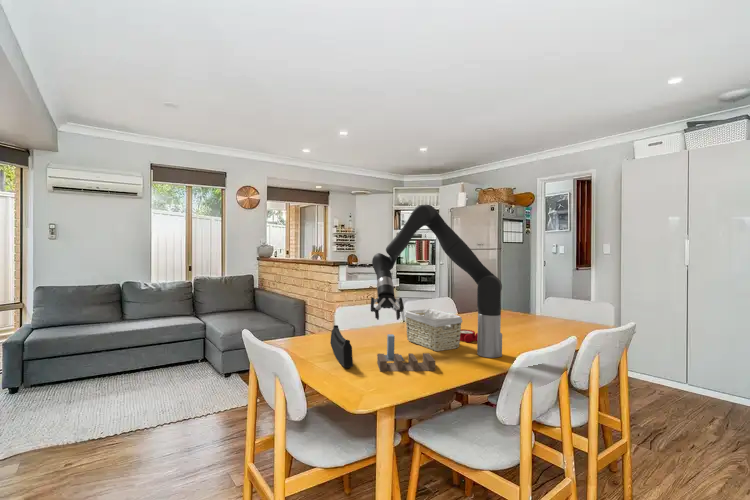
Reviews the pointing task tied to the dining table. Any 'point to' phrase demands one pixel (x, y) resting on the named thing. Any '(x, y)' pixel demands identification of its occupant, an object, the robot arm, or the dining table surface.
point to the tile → (390, 346)
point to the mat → (393, 359)
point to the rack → (412, 363)
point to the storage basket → (433, 329)
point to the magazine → (341, 348)
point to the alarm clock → (468, 336)
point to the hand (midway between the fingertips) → (388, 318)
